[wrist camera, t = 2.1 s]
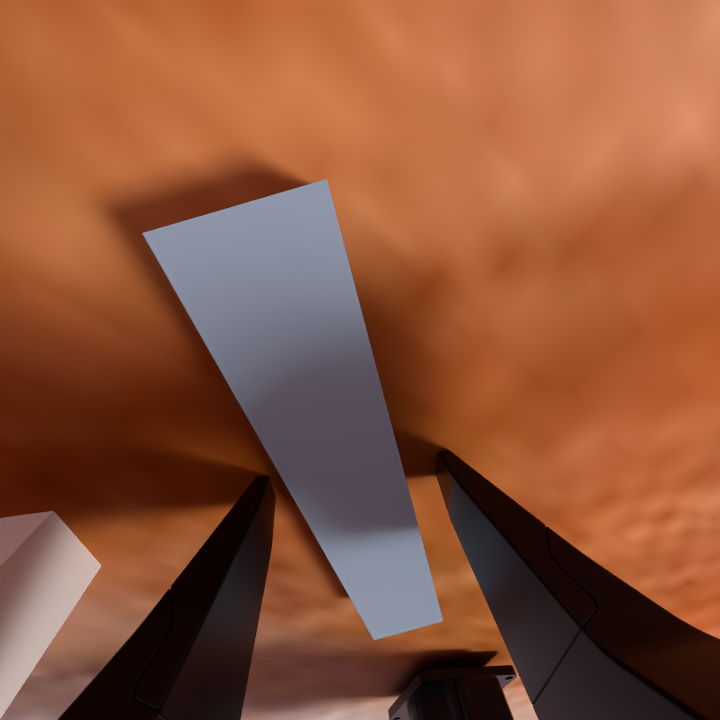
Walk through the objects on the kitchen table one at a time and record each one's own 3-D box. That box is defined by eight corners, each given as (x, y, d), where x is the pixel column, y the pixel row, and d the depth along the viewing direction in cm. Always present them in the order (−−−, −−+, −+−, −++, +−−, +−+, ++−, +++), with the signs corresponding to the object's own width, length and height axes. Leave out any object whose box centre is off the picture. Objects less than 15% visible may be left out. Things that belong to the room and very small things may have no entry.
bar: (420, 546, 14) (442, 621, 11) (364, 561, 14) (374, 640, 11) (326, 197, 7) (327, 179, 4) (212, 230, 7) (142, 233, 4)
